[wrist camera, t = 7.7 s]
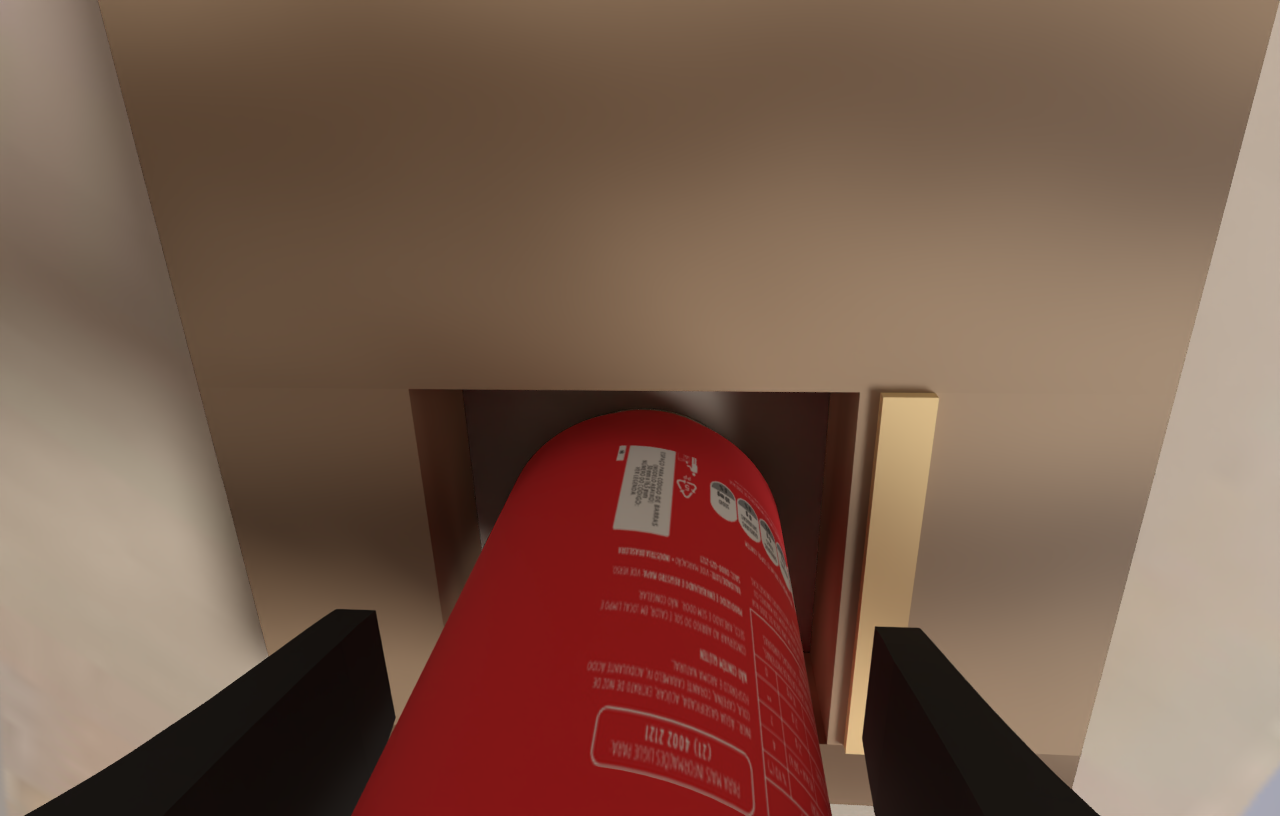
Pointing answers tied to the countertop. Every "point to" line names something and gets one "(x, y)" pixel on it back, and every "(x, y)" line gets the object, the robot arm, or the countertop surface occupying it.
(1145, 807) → the countertop surface
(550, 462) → the beverage can
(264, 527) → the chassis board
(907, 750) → the robot arm
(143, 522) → the countertop surface
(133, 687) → the countertop surface
